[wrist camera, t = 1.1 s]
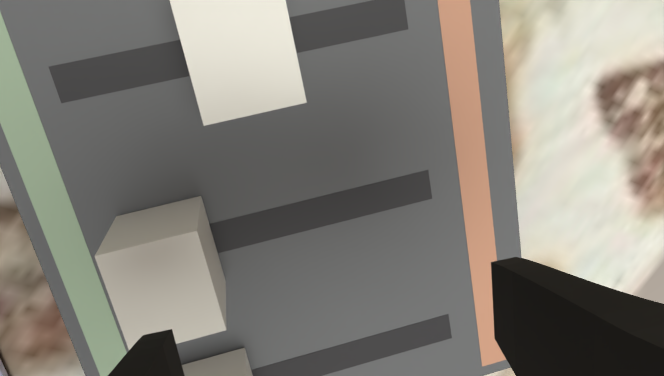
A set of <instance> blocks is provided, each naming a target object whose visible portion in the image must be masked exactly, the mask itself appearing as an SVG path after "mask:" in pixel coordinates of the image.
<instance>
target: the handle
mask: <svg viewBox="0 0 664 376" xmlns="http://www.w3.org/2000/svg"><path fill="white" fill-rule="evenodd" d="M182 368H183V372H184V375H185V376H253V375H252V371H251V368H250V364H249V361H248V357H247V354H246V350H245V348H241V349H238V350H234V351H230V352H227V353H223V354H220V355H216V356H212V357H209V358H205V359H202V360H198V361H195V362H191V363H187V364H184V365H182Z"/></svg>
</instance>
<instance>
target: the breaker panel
mask: <svg viewBox="0 0 664 376" xmlns="http://www.w3.org/2000/svg"><path fill="white" fill-rule="evenodd" d="M286 5H287V10H288V14H289V19H290V24H291V29H292V34H293V39H294V43H295V48H296V53H297V58H298V63H299V67H300V72H301V77H302V82H303V87H304V92H305V96H306V101H307V103H303V104H299V105H294V106H290V107H285V108H281V109H276V110H272V111H268V112H263V113H259V114H254V115H250V116H245V117H241V118H237V119H232V120H228V121H223V122H219V123H214V124H210V125H206V126H204V125H203V121H202V117H201V114H200V110H199V106H198V103H197V99H196V96H195V92H194V88H193V85H192V81H191V77H190V74H189V70H188V66H187V63H186V59H185V55H184V52H183V48H182V44H181V41H180V37H179V33H178V30H177V26H176V22H175V19H174V15H173V11H172V8H171V4H170V0H0V166H1V169H2V171H3V173H4V176H5V178H6V181H7V183H8V186H9V188H10V191H11V193H12V196H13V198H14V201H15V203H16V205H17V208H18V210H19V213H20V215H21V218H22V220H23V223H24V225H25V228H26V230H27V233H28V235H29V237H30V240H31V242H32V245H33V247H34V250H35V252H36V255H37V257H38V260H39V262H40V265H41V267H42V270H43V272H44V274H45V277H46V279H47V282H48V284H49V287H50V289H51V292H52V294H53V297H54V299H55V302H56V304H57V306H58V309H59V311H60V314H61V316H62V319H63V321H64V324H65V326H66V329H67V331H68V334H69V336H70V338H71V341H72V343H73V346H74V348H75V351H76V353H77V356H78V358H79V361H80V363H81V366H82V368H83V371H84V373H85V375H86V376H108V375H109V373H110V372H111V371H112V370H113V369H114V368H115V367H116V365H117V364H118V363H119V362H120V361H121V359H122V358H123V357H124V356H125V355H126V354H127V352H128V351H129V349H128V346H127V343H126V341H125V338H124V335H123V332H122V330H121V327H120V324H119V322H118V319H117V316H116V313H115V311H114V308H113V305H112V303H111V300H110V297H109V294H108V292H107V289H106V286H105V284H104V281H103V278H102V275H101V273H100V270H99V267H98V265H97V262H96V259H95V254H96V252H97V251H98V249H99V247H100V245H101V243H102V241H103V240H104V238H105V236H106V234H107V232H108V231H109V229H110V227H111V225H112V223H113V221H114V220H115V218H116V216H119V215H123V214H128V213H132V212H136V211H140V210H144V209H148V208H152V207H157V206H161V205H165V204H169V203H173V202H177V201H182V200H186V199H190V198H194V197H198V196H201V197H202V200H203V204H204V207H205V211H206V214H207V218H208V221H209V225H210V228H211V232H212V235H213V239H214V242H215V246H216V249H217V253H218V256H219V260H220V263H221V267H222V270H223V274H224V277H225V281H226V330H225V331H222V332H218V333H214V334H211V335H207V336H203V337H200V338H196V339H192V340H189V341H185V342H182V343H178V344H176V346H177V350H178V353H179V357H180V361H181V364H182V365H184V364H187V363H191V362H195V361H198V360H202V359H205V358H209V357H212V356H216V355H220V354H223V353H227V352H230V351H234V350H238V349H241V348H245V350H246V354H247V357H248V361H249V364H250V368H251V371H252V375H253V376H484V375H487V374H490V373H494V372H497V371H500V370H504V369H507V368H510V367H511V366H510V365H509V363H508V361H507V360H506V358H505V356H504V354H503V353H502V351H501V349H500V347H499V346H498V344H497V342H496V340H495V337H494V316H493V296H492V275H491V262H494V261H498V260H503V259H508V258H513V257H519V258H521V248H520V236H519V225H518V213H517V202H516V190H515V179H514V168H513V156H512V145H511V133H510V122H509V110H508V99H507V88H506V76H505V65H504V53H503V42H502V30H501V19H500V8H499V0H286Z"/></svg>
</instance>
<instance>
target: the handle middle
mask: <svg viewBox="0 0 664 376" xmlns="http://www.w3.org/2000/svg"><path fill="white" fill-rule="evenodd" d="M95 259H96V262H97V265H98V267H99V270H100V273H101V275H102V278H103V281H104V284H105V286H106V289H107V292H108V294H109V297H110V300H111V303H112V305H113V308H114V311H115V313H116V316H117V319H118V322H119V324H120V327H121V330H122V332H123V335H124V338H125V341H126V343H127V346H128V349H129V350H130V349H131V348H132V347H133V345H134V344H135V343H136V342H137V341H138V340H139V339H140V338H141V337H142V336H143V335H146V334H151V333H155V332H160V331H165V330H170V329H172V331H173V335H174V339H175V342H176V344H178V343H182V342H185V341H189V340H192V339H196V338H200V337H203V336H207V335H211V334H214V333H218V332H222V331H225V330H226V281H225V277H224V274H223V270H222V267H221V263H220V260H219V256H218V253H217V249H216V246H215V242H214V239H213V235H212V232H211V228H210V225H209V221H208V218H207V214H206V211H205V207H204V204H203V200H202V197H201V196H198V197H194V198H190V199H186V200H182V201H177V202H173V203H169V204H165V205H161V206H157V207H152V208H148V209H144V210H140V211H136V212H132V213H128V214H123V215H119V216H116V218H115V220H114V221H113V223H112V225H111V227H110V229H109V231H108V232H107V234H106V236H105V238H104V240H103V241H102V243H101V245H100V247H99V249H98V251H97V252H96V254H95Z"/></svg>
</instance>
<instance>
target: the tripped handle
mask: <svg viewBox="0 0 664 376" xmlns="http://www.w3.org/2000/svg"><path fill="white" fill-rule="evenodd" d="M170 4H171V8H172V11H173V15H174V19H175V22H176V26H177V30H178V33H179V37H180V41H181V44H182V48H183V52H184V55H185V59H186V63H187V66H188V70H189V74H190V77H191V81H192V85H193V88H194V92H195V96H196V99H197V103H198V106H199V110H200V114H201V117H202V121H203V125H204V126H206V125H210V124H214V123H219V122H223V121H228V120H232V119H237V118H241V117H245V116H250V115H254V114H259V113H263V112H268V111H272V110H276V109H281V108H285V107H290V106H294V105H299V104H303V103H307V101H306V96H305V92H304V87H303V82H302V77H301V72H300V67H299V63H298V58H297V53H296V48H295V43H294V39H293V34H292V29H291V24H290V19H289V14H288V10H287V5H286V0H170Z"/></svg>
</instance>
